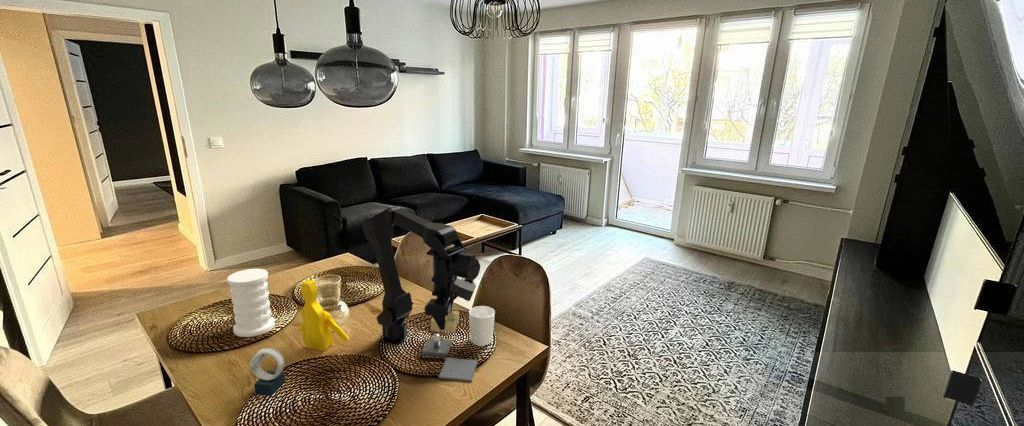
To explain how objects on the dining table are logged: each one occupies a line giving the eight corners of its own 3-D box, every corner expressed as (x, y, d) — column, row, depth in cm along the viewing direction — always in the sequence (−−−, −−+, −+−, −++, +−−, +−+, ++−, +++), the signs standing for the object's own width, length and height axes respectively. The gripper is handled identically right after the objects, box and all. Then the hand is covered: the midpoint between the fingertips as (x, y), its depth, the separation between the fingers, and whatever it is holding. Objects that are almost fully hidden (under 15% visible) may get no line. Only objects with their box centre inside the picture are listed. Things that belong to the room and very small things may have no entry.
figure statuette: (353, 345, 131) (349, 277, 126) (336, 359, 124) (330, 288, 118) (305, 334, 136) (298, 269, 131) (285, 347, 129) (277, 279, 123)
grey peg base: (421, 357, 126) (421, 340, 125) (428, 344, 133) (428, 327, 132) (445, 359, 126) (445, 342, 124) (451, 346, 132) (451, 329, 131)
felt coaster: (438, 378, 117) (438, 376, 117) (447, 359, 126) (447, 357, 125) (471, 381, 116) (471, 379, 116) (477, 362, 125) (477, 360, 125)
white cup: (490, 349, 131) (491, 319, 129) (465, 345, 133) (465, 316, 130) (496, 336, 139) (497, 307, 136) (473, 332, 140) (473, 304, 138)
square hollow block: (431, 330, 120) (430, 320, 119) (437, 319, 126) (436, 309, 125) (454, 331, 119) (453, 321, 119) (459, 320, 126) (458, 310, 125)
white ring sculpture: (263, 380, 114) (258, 342, 111) (291, 383, 113) (287, 345, 111) (248, 394, 109) (242, 355, 106) (278, 397, 108) (273, 358, 105)
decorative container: (224, 332, 136) (216, 278, 132) (258, 315, 147) (251, 265, 142) (251, 340, 132) (243, 285, 128) (283, 323, 143) (277, 272, 138)
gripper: (466, 287, 109) (467, 343, 113) (478, 261, 127) (479, 310, 131) (422, 285, 110) (425, 340, 114) (441, 259, 128) (442, 308, 132)
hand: (445, 323), depth 123 cm, fingers closed on square hollow block, 6 cm apart
